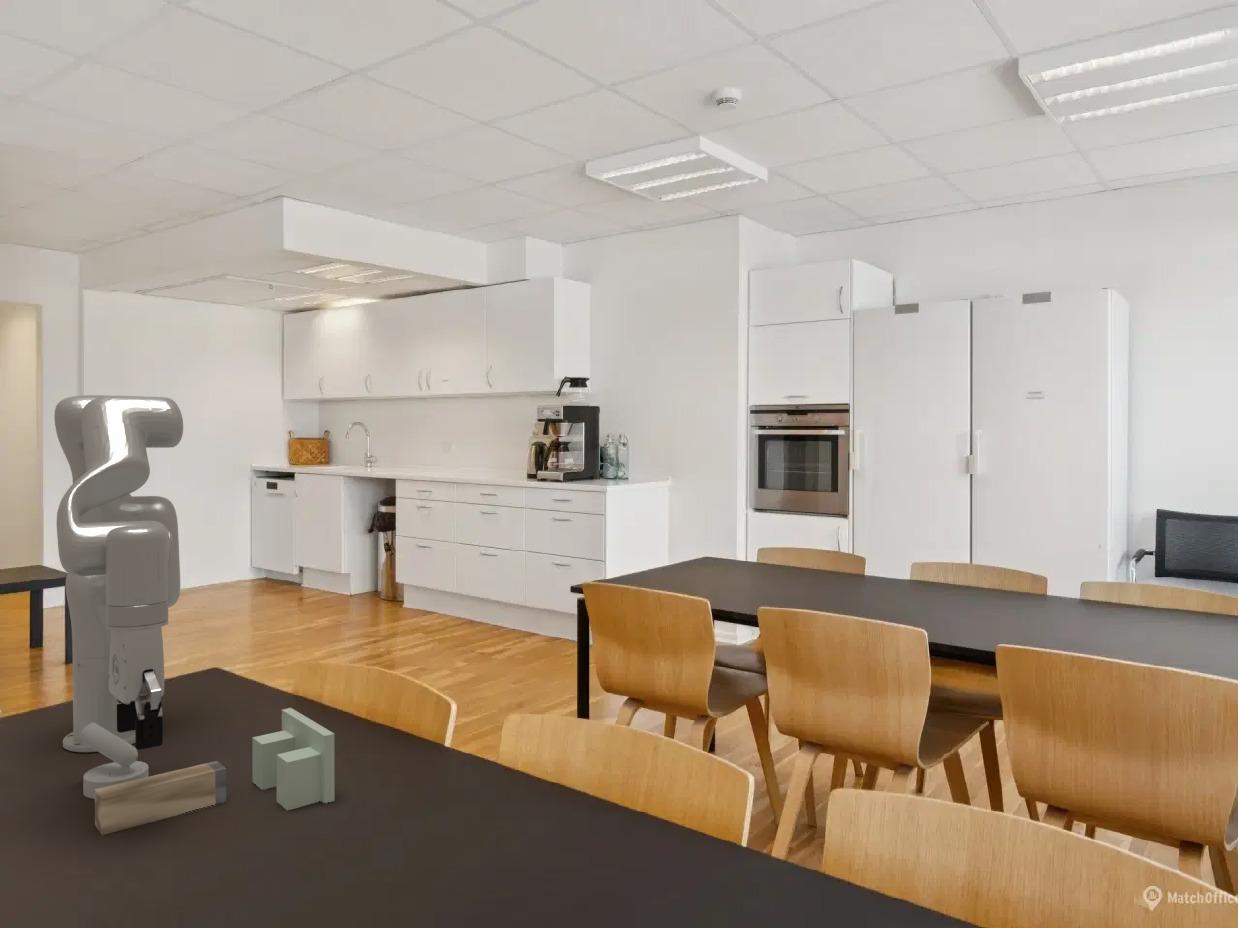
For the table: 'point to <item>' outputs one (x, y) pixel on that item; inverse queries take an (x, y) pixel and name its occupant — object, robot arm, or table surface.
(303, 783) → the sage panel with pillars
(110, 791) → the rail
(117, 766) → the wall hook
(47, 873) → the table surface
